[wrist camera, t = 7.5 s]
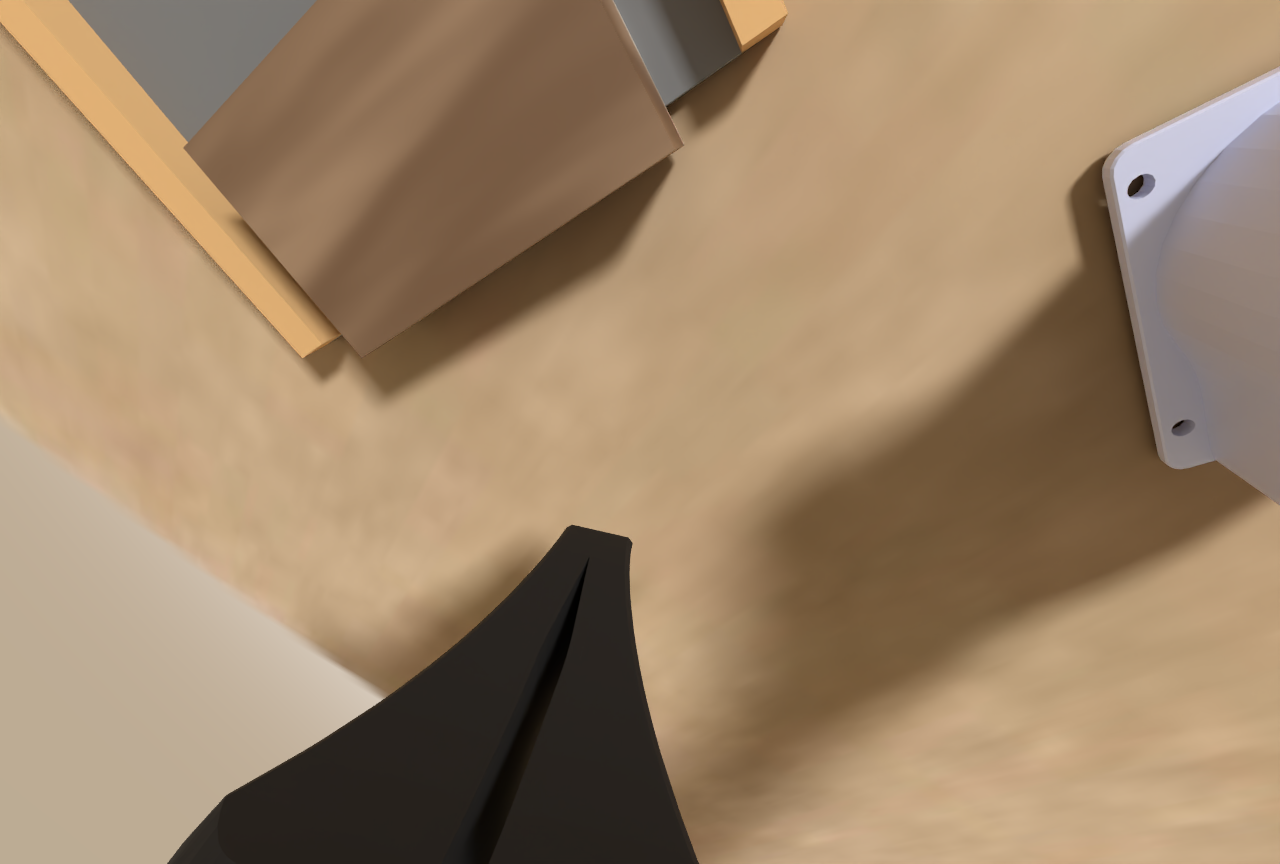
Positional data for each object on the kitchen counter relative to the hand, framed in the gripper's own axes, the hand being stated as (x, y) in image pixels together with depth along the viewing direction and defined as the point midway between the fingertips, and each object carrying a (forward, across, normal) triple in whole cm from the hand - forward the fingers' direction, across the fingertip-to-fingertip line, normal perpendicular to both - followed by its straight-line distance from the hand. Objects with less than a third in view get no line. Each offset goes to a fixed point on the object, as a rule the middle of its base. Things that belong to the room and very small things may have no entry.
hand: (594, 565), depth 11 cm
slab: (+6, +4, -4) cm, 8 cm away
